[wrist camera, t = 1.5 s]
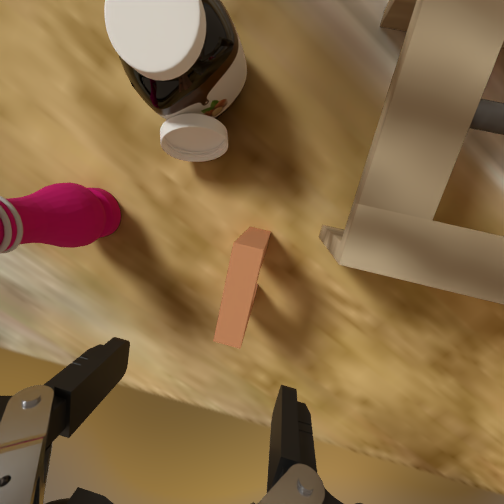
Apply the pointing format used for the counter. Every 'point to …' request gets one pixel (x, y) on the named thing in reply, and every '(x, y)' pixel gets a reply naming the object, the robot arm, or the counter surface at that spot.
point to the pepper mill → (58, 217)
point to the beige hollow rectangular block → (428, 152)
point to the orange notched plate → (241, 286)
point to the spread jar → (181, 68)
